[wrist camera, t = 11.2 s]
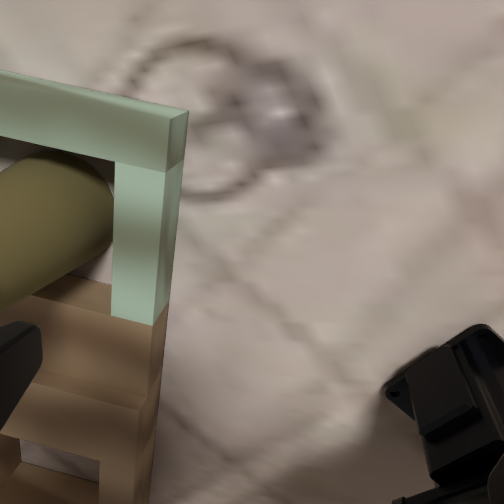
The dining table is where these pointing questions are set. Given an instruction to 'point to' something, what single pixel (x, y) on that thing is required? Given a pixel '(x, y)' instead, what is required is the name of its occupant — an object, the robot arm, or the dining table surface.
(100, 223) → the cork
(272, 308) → the dining table surface
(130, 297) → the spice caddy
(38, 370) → the robot arm
